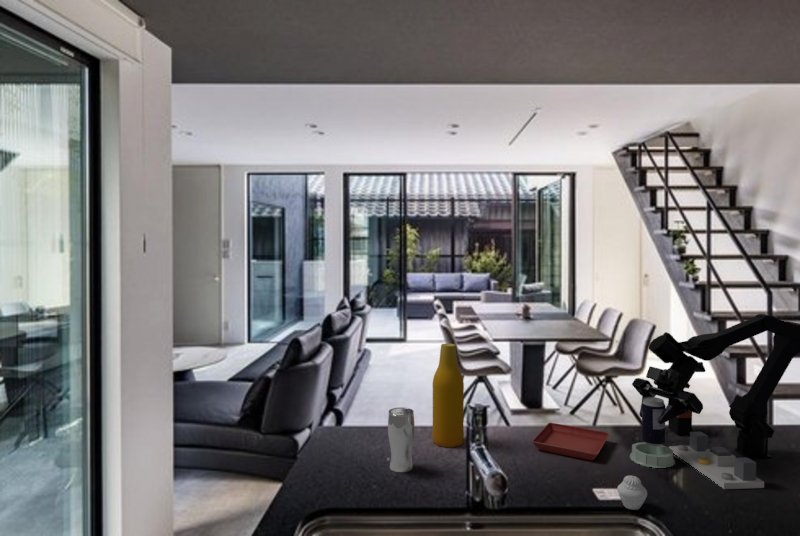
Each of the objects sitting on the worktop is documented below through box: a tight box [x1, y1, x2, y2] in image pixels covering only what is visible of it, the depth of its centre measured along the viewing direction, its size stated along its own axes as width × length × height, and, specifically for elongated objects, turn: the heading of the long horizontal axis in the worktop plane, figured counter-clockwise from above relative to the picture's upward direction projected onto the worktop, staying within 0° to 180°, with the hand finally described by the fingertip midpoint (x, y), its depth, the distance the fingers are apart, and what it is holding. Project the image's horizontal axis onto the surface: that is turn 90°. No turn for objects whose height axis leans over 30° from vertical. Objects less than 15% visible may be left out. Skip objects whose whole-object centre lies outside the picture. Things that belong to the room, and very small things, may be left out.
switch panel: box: [668, 431, 765, 490], centre depth 138 cm, size 23×10×6 cm, turn 4°
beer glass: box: [387, 407, 415, 473], centre depth 139 cm, size 7×7×15 cm
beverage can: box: [641, 396, 666, 446], centre depth 143 cm, size 6×6×12 cm
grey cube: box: [710, 446, 732, 456], centre depth 138 cm, size 3×3×3 cm
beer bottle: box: [431, 343, 465, 448], centre depth 156 cm, size 9×9×29 cm
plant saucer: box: [531, 422, 610, 461], centre depth 153 cm, size 18×18×3 cm
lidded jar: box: [617, 475, 648, 511], centre depth 118 cm, size 6×6×7 cm
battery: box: [667, 409, 693, 436], centre depth 164 cm, size 4×7×10 cm, turn 176°
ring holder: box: [629, 441, 676, 469], centre depth 143 cm, size 11×11×3 cm
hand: (649, 419), depth 142 cm, fingers closed on beverage can, 6 cm apart
